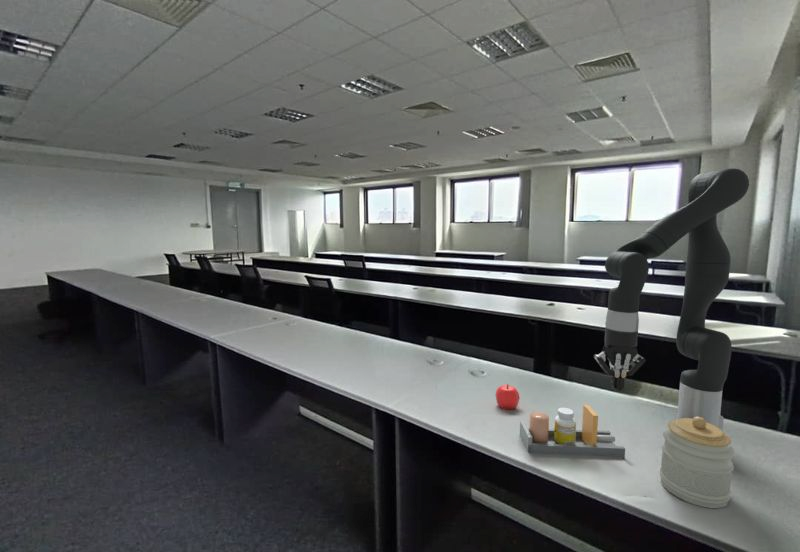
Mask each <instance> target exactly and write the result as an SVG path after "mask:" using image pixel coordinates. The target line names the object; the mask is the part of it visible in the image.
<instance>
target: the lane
mask: <svg viewBox="0 0 800 552" xmlns="http://www.w3.org/2000/svg"><path fill="white" fill-rule="evenodd" d="M554 429H555V428H549V432H548V444H540V443H532V436H531V434H530V432H529V427H528V426H527V425H526V422H525V420H519V435H520V436H519V437H520V438H521V441H522V442H523V445H524V448H525V449H526V452H528V453H535V454H536V453H537V454H565V455H588V456H589V455H590V456H591V455H592V456H613V457H614V456H617V457H618V456H619V457H621V458H622V459H623V460H624V459H625V457H626V448H625V446H623V445H622V446H621V445H618V446H616V444H615V442H607V441H597V443H596V446H595V445H586V443H585V442H584V441H583V439H582V429H576V438H575V445H568V444H555V443H554ZM597 435H612V434H611V432H610V431H609V430H597Z"/></svg>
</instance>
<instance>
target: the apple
mask: <svg viewBox="0 0 800 552" xmlns="http://www.w3.org/2000/svg"><path fill="white" fill-rule="evenodd" d="M495 400H496V403H497V405H498V407H500V408H501V409H504V410H506V411H509V410H514V409H515V408H517V407H518V406H519V401H520V393H519V392H518V390H517V388H516V387H515V386H512V385H509V383H507V384H504V385H503V384H502V385H501V386H498V387H497V389H496V391H495Z"/></svg>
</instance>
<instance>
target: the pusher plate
mask: <svg viewBox="0 0 800 552" xmlns="http://www.w3.org/2000/svg"><path fill="white" fill-rule="evenodd" d="M582 409H583V411H582V426H581V430H582V439H583V441H584V442H585V443H586V445H595V446H596V443H597V441H607V442H613V443H615V442H616V437H615V436H614V435H612V434H610V435H597V431H598V425H599V424H598V423H599V415H598V414H597V413H596V411H595V410H593V409H592V408H591V407H590V405H589V404H583V408H582Z"/></svg>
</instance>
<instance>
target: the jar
mask: <svg viewBox="0 0 800 552" xmlns="http://www.w3.org/2000/svg"><path fill="white" fill-rule="evenodd" d="M662 436H663V438H664V439H665V440H664V442H663V443H662V444H661V450H662V453H661V465H660V469H659V477H660V482H661V484H662V486H663V487H664V488H665V489H666V490H667V491H668V492H669V493H671V494H672V495H674V496H675V497H676V498H679V499H681V500H682V501H685V502H687V503H689V504H692V505H695V506H700V507H703V508H709V509H721V508H724V507H727V505H728V504H729V502H730V500H731V495H732V490H731V486H732V475H733V470H734V469H735V466H734V463H733V462H732V458H734V457H735V455H736V450H735V448H734V447H733V446H732V445H731V443H732V439H731V437H730V436H729V435H728V434H727V433H726V432H724V431H722V430H720V429H719V428H718V427H716V426H714V425H712V424H710V423H707V422H706V421H705V419H703V418H702V417H698V416H697V417H694V418H693V419H690V418H681V419H678V420H677V419H674V420H670V421H669V422H668V423H667V428H665V429H664V430H663V432H662Z"/></svg>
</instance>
